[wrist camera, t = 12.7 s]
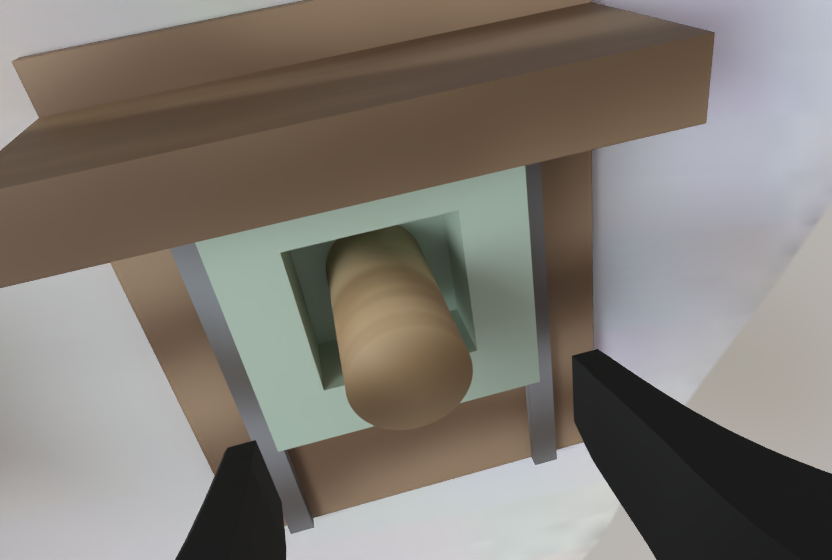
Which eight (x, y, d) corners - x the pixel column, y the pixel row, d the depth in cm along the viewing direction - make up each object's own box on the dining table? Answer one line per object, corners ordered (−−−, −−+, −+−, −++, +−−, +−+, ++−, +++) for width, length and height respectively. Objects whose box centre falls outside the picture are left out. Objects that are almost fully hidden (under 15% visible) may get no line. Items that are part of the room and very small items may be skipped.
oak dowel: (427, 295, 21) (477, 413, 16) (335, 315, 21) (357, 442, 16) (416, 212, 20) (467, 313, 14) (316, 232, 19) (334, 343, 14)
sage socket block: (507, 327, 24) (540, 381, 21) (277, 387, 23) (278, 452, 20) (485, 94, 19) (522, 124, 16) (193, 159, 18) (178, 202, 15)
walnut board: (588, 430, 28) (666, 553, 23) (245, 525, 27) (238, 682, 21) (580, -56, 18) (721, -46, 12) (19, 57, 16) (-109, 126, 11)
